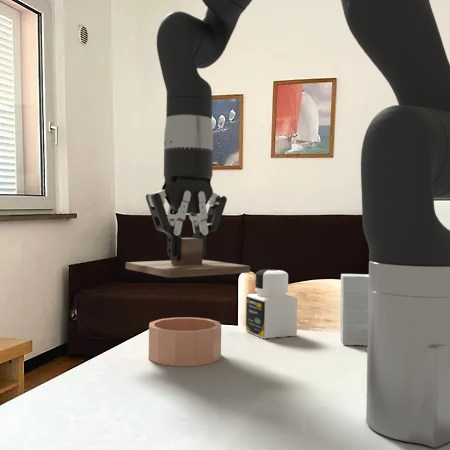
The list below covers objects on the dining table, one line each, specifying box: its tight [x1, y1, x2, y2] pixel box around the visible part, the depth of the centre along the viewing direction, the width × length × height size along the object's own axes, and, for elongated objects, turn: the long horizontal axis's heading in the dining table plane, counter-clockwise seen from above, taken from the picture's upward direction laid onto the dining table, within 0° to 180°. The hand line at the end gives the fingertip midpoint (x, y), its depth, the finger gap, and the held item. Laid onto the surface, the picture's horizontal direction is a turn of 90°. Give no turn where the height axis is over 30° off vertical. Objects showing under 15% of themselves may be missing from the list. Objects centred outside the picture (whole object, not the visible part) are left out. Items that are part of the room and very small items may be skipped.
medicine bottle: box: [245, 268, 298, 340], centre depth 100 cm, size 7×7×12 cm
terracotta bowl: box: [148, 316, 222, 367], centre depth 83 cm, size 11×11×5 cm
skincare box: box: [340, 273, 369, 347], centre depth 93 cm, size 6×4×12 cm
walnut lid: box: [124, 237, 251, 279], centre depth 83 cm, size 14×14×5 cm
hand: (186, 258), depth 83 cm, fingers closed on walnut lid, 3 cm apart
